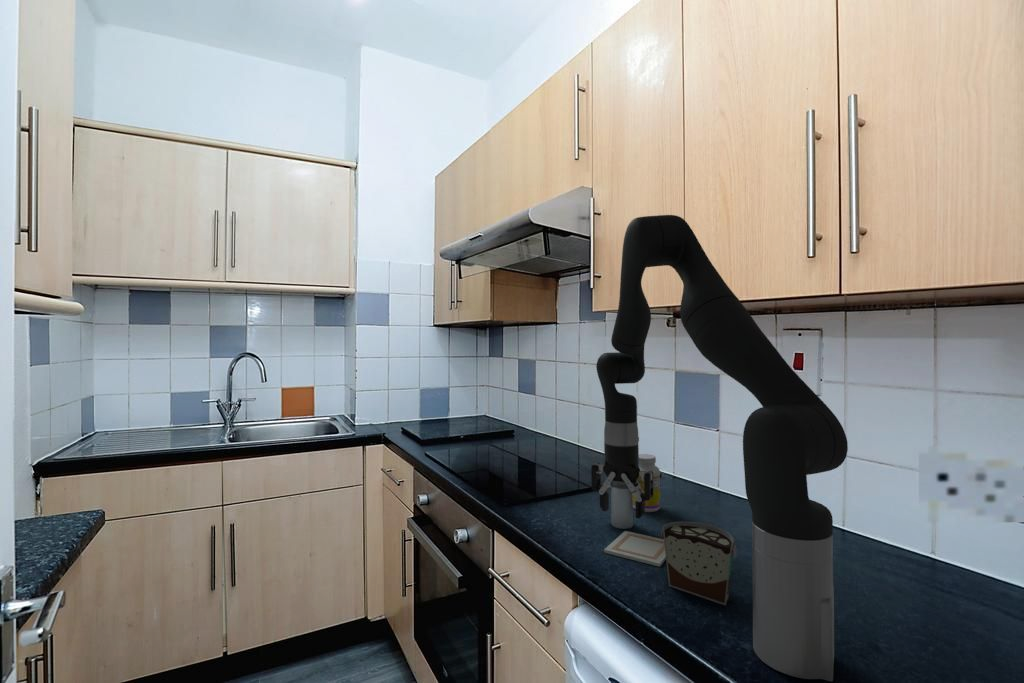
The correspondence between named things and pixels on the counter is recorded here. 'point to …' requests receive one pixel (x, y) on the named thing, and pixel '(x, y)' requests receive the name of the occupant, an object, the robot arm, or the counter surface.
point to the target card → (638, 548)
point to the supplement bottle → (649, 465)
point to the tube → (621, 505)
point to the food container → (699, 559)
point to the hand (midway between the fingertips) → (622, 513)
